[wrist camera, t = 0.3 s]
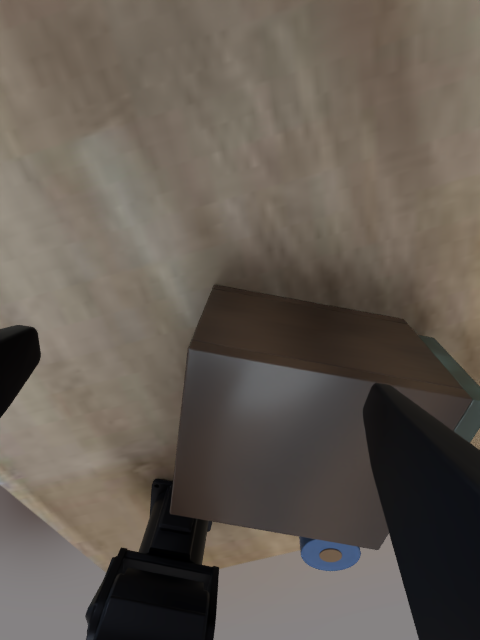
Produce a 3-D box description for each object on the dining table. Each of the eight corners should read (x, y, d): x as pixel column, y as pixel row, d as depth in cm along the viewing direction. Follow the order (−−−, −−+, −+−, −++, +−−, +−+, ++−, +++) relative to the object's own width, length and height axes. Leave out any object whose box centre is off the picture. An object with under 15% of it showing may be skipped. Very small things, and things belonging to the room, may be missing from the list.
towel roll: (337, 512, 33) (350, 576, 28) (290, 504, 33) (294, 566, 28) (352, 481, 31) (369, 544, 26) (302, 472, 30) (309, 533, 25)
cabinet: (404, 319, 23) (473, 399, 15) (348, 445, 29) (378, 550, 21) (213, 284, 23) (187, 348, 15) (195, 418, 28) (169, 514, 21)
